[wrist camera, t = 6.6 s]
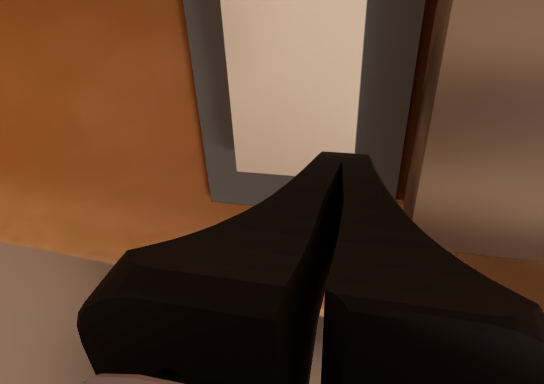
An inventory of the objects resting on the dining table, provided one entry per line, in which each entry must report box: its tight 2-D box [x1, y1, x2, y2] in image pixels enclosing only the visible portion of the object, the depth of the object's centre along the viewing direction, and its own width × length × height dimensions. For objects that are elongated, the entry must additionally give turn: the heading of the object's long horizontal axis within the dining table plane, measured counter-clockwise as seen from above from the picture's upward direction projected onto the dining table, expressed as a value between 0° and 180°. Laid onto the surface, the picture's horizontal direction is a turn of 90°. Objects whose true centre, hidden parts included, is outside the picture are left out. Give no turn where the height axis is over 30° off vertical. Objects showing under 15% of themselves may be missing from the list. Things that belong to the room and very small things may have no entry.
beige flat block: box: [220, 0, 368, 176], centre depth 19 cm, size 9×6×2 cm, turn 2°
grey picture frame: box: [183, 0, 426, 206], centre depth 20 cm, size 16×11×1 cm
